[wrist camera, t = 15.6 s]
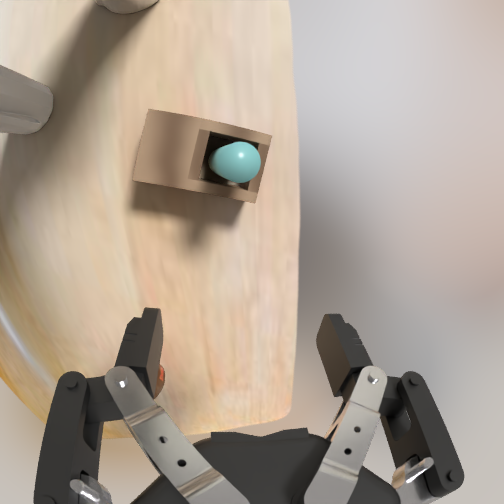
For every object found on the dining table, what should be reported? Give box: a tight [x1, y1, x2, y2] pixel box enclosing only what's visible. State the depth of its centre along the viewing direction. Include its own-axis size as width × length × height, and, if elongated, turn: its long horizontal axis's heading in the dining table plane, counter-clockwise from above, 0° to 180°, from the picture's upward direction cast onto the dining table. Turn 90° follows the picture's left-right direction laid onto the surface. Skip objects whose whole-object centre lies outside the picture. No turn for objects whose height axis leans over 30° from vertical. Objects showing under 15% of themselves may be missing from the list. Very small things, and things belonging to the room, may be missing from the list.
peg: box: [209, 142, 261, 183], centre depth 29 cm, size 4×4×12 cm
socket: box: [133, 109, 272, 203], centre depth 32 cm, size 14×8×5 cm, turn 76°
